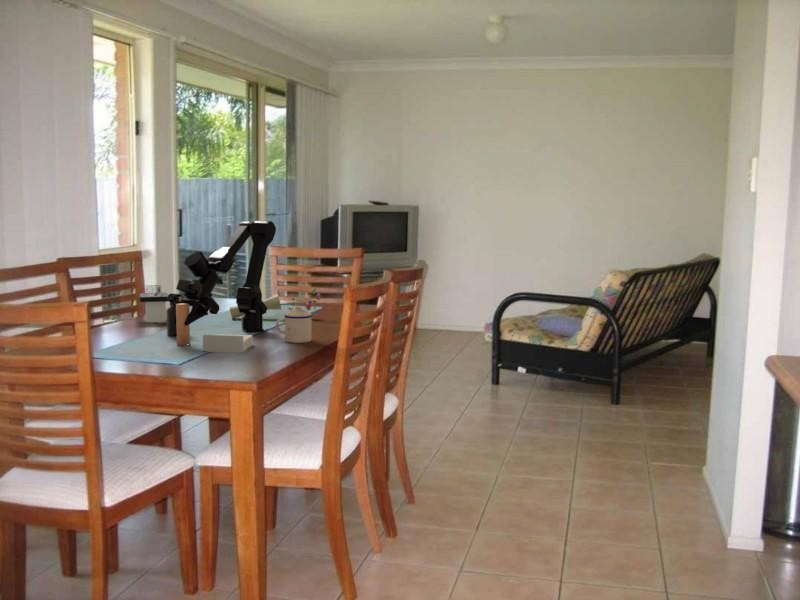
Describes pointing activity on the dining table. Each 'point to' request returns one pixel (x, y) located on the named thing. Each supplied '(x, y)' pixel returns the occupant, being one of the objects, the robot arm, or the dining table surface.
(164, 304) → the black-topped pedestal
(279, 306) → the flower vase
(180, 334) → the peg
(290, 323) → the teacup with lid
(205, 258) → the robot arm
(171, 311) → the supplement bottle
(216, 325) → the dining table surface
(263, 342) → the dining table surface
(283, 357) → the dining table surface
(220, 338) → the socket block
